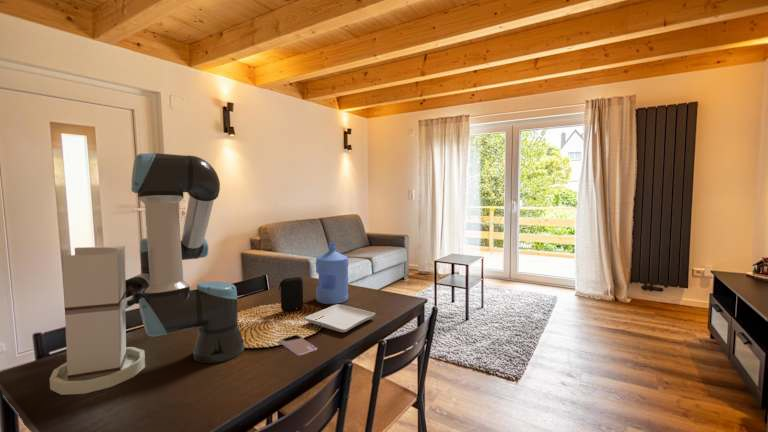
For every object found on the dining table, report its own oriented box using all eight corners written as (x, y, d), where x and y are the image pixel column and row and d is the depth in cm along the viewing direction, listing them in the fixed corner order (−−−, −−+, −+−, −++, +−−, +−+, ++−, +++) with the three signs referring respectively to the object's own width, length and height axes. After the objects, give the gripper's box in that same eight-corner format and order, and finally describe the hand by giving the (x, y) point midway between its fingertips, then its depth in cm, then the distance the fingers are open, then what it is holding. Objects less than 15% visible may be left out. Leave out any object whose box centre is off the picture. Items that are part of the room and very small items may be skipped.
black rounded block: (279, 313, 152) (278, 280, 151) (278, 311, 155) (277, 278, 154) (303, 309, 157) (303, 277, 156) (302, 307, 160) (301, 276, 158)
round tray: (160, 364, 107) (160, 355, 107) (77, 402, 88) (76, 391, 88) (119, 351, 116) (119, 342, 116) (36, 382, 97) (35, 372, 97)
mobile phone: (296, 333, 129) (318, 347, 118) (297, 336, 129) (318, 350, 118) (277, 339, 124) (298, 354, 113) (277, 342, 124) (298, 357, 113)
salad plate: (376, 320, 146) (376, 312, 146) (344, 338, 128) (344, 328, 128) (337, 310, 157) (337, 303, 157) (302, 325, 139) (302, 317, 139)
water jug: (337, 293, 182) (336, 239, 180) (354, 300, 170) (354, 243, 168) (310, 299, 172) (309, 242, 170) (326, 307, 160) (326, 246, 158)
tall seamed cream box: (127, 355, 109) (124, 246, 105) (120, 374, 100) (117, 254, 96) (79, 362, 104) (75, 247, 100) (67, 382, 95) (62, 256, 90)
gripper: (176, 296, 122) (140, 319, 101) (99, 298, 119) (46, 322, 98) (175, 275, 121) (139, 293, 100) (98, 276, 119) (44, 296, 98)
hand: (92, 308), depth 99 cm, fingers open, 13 cm apart
